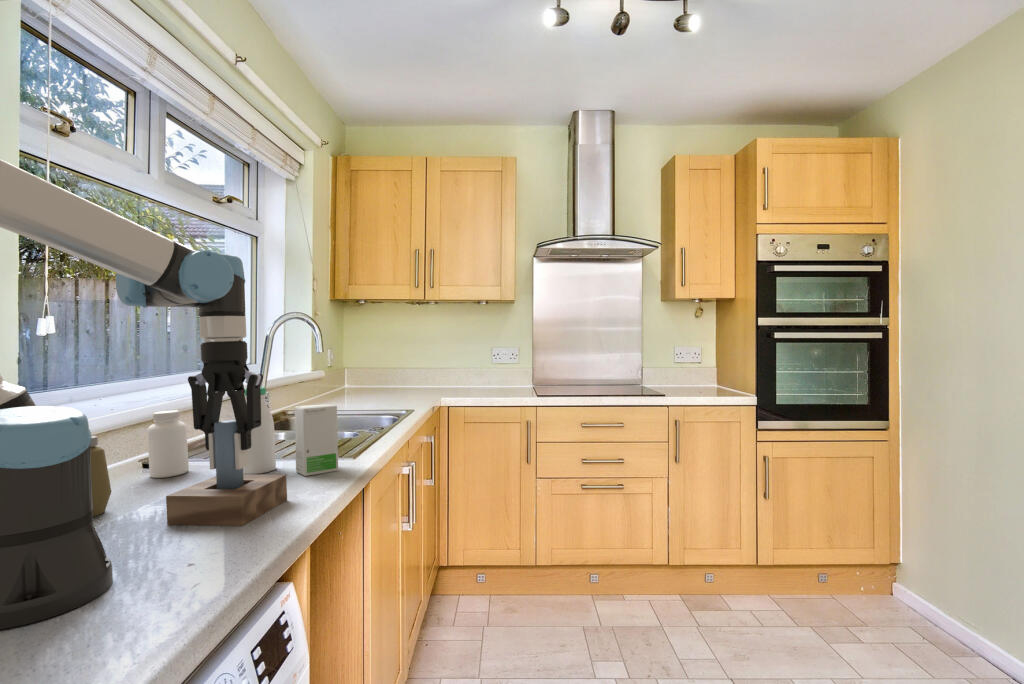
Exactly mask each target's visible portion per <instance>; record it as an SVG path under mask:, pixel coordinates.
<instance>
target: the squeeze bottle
mask: <svg viewBox="0 0 1024 684" xmlns="http://www.w3.org/2000/svg"><path fill="white" fill-rule="evenodd" d="M91 436H92V439H91V444H90V452H91V477H92V502H93V517H97V516H99V515H101V514H104V512H106V510H107V509H106V508H107V506H108V504H109V501H110V497H111V493H112V488H111V487H112V486H111V482H110V476H109V471H108V470H109V468H108V464H107V458H106V451H105V449H104V448H102V447H101V446H98V444H99V442H98V441H99V440H98V436H97V435H91Z"/></svg>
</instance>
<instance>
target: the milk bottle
mask: <svg viewBox="0 0 1024 684" xmlns="http://www.w3.org/2000/svg"><path fill="white" fill-rule="evenodd" d="M244 389H245V394H244V396H245V400H246V404H247V394H246V388H244ZM260 389H261V426H260V427H257V428H254V429H252V431H251V445H252V446H251V448H250V449H248V462H249V466H247V467H244V468H243V475H261V474H265V473H269V472H272V471H274V470H275V469H276V466H277V462H276V461H277V459H276V457H277V456H276V438H275V437H276V435H275V422H274V418H273V415H272V412H271V410H270V409H269V407H268V405H267V402H266V396H267V395H266V394H267V389H266V387H261V386H260Z"/></svg>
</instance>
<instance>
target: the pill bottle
mask: <svg viewBox="0 0 1024 684" xmlns="http://www.w3.org/2000/svg"><path fill="white" fill-rule="evenodd" d="M152 419H153V424H151V425H150V426H148V428H147V432H146V433H147V450H148V451H147V452H148V469H149V470H148V471H149V476H150V477H151V478H153V479H155V478H157V479H162V478H170V477H171V478H173V477H177V476H180V475H183V474H185V473H188V472H189V451H188V432H187V431H188V430H187V425H186V423H185V422H183V421H180V419H181V418H180V410H176V409H175V410H174V409H173V410H163V411H156V412H153V414H152Z"/></svg>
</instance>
